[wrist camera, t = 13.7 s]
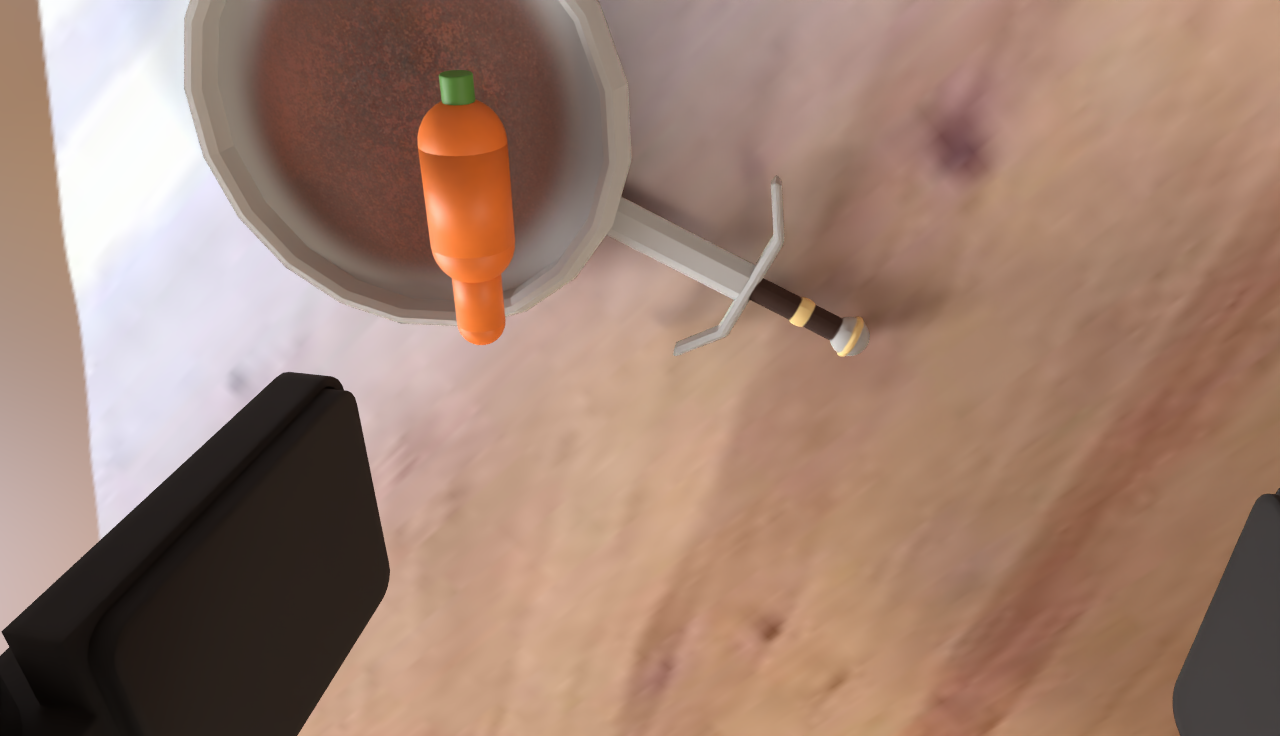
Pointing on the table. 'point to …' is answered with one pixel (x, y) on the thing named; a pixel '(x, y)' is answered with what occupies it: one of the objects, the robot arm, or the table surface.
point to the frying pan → (389, 159)
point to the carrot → (468, 203)
